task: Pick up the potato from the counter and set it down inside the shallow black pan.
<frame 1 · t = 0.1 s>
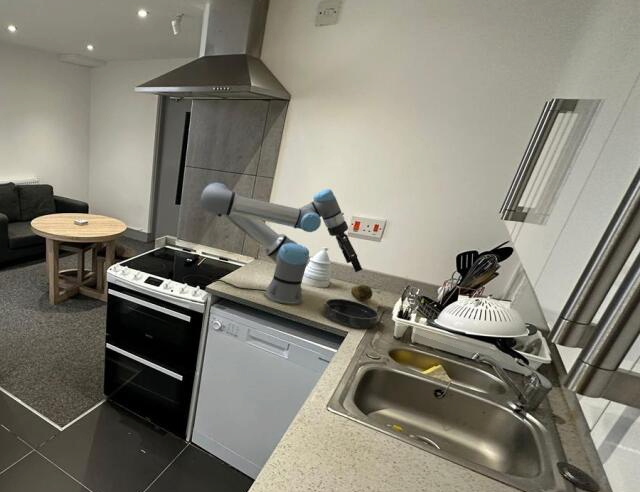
hand: (354, 266, 174), 15 cm above the worktop, tool tilted 35°, fingers open, 13 cm apart
pan: (348, 318, 158), on the worktop
potato: (358, 300, 179), on the worktop
honey pot: (314, 283, 197), on the worktop
cupcake: (416, 327, 155), on the worktop
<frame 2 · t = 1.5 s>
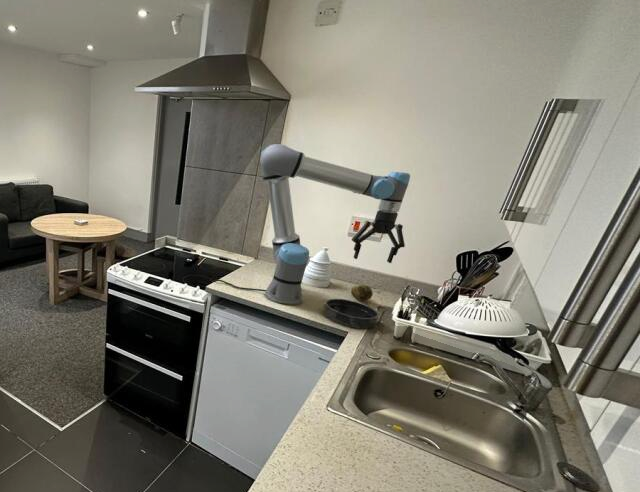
hand: (371, 260, 171), 19 cm above the worktop, tool pointing down, fingers open, 13 cm apart
nothing on the worktop moved.
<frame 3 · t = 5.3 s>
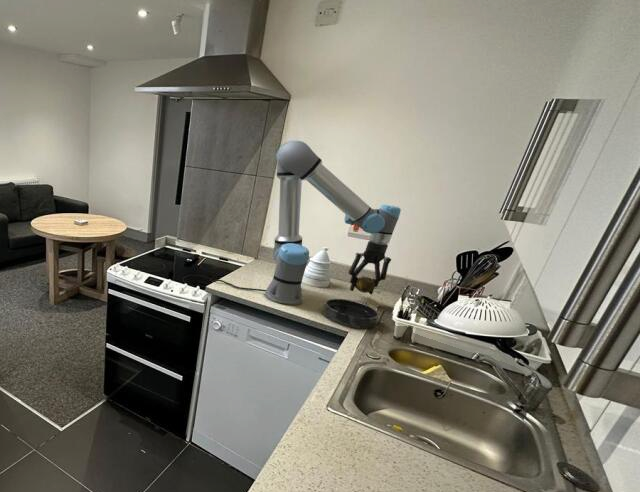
hand: (360, 291, 177), 4 cm above the worktop, tool pointing down, fingers closed on potato, 7 cm apart
potato: (360, 292, 177), point 4 cm above the worktop, touching gripper
everything else where it was.
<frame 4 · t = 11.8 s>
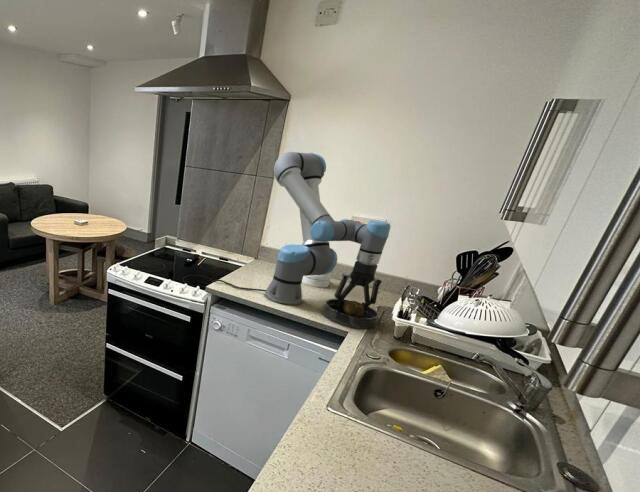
hand: (348, 316, 158), 1 cm above the worktop, tool pointing down, fingers closed on potato, 7 cm apart
potato: (348, 317, 158), resting on pan, touching gripper
everything else where it was.
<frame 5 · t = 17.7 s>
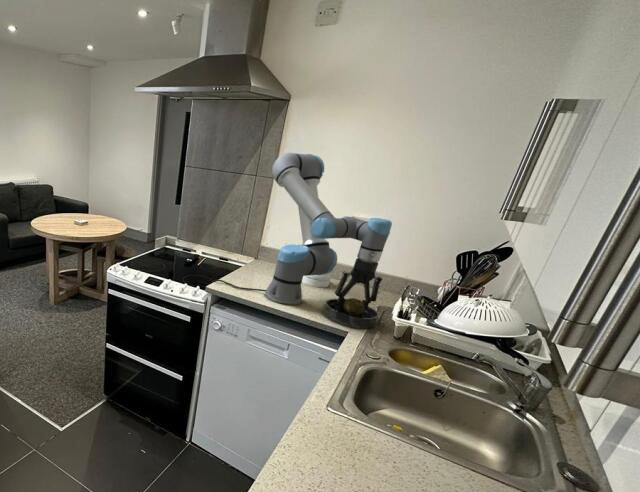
hand: (348, 314, 157), 2 cm above the worktop, tool pointing down, fingers closed on potato, 7 cm apart
potato: (349, 315, 158), point 1 cm above the worktop, touching gripper
everything else where it was.
when the fingers open (3 cm above the worktop, at t = 23.4 s): potato drops 2 cm, resting on pan.
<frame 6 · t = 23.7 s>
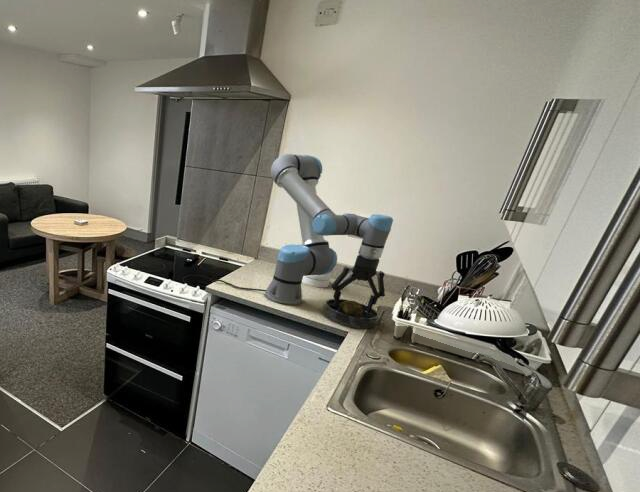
hand: (351, 308, 156), 4 cm above the worktop, tool pointing down, fingers open, 12 cm apart
potato: (347, 317, 158), resting on pan
everything else where it was.
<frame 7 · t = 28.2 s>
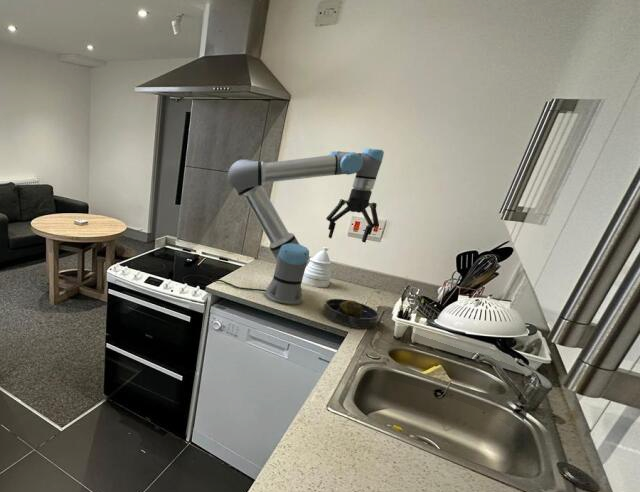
hand: (346, 239, 169), 27 cm above the worktop, tool pointing down, fingers open, 13 cm apart
nothing on the worktop moved.
at the end: potato inside the target area in the pan (0.2 cm from its centre), point 0.3 cm above the pan's base; the gripper is holding nothing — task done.
